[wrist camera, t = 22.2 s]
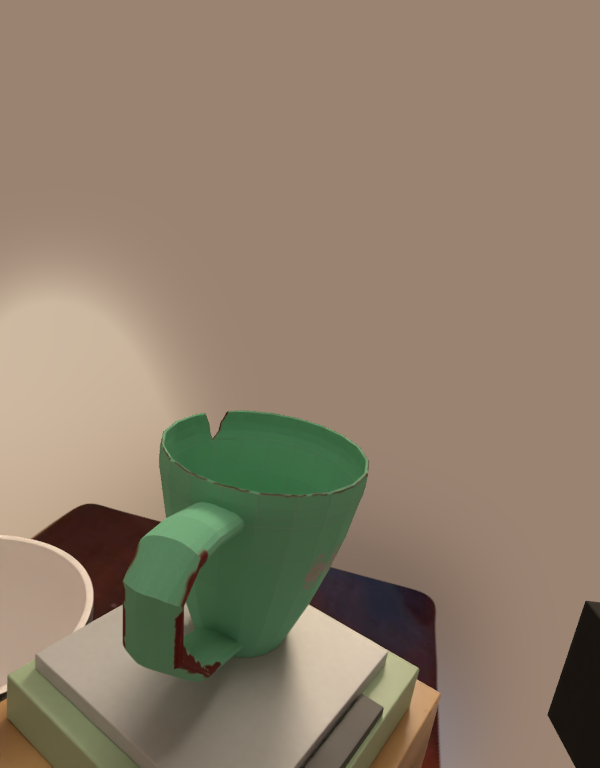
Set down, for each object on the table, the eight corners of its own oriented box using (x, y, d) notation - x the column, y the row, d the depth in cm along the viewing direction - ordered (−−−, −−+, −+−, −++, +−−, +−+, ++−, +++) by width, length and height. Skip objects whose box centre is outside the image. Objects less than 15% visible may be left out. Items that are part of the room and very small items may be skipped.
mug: (201, 548, 35) (219, 397, 32) (352, 599, 32) (385, 439, 29) (18, 737, 21) (23, 500, 18) (256, 851, 18) (302, 596, 16)
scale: (410, 705, 29) (423, 655, 28) (238, 969, 18) (251, 898, 17) (216, 584, 36) (222, 541, 36) (5, 717, 25) (6, 659, 24)
